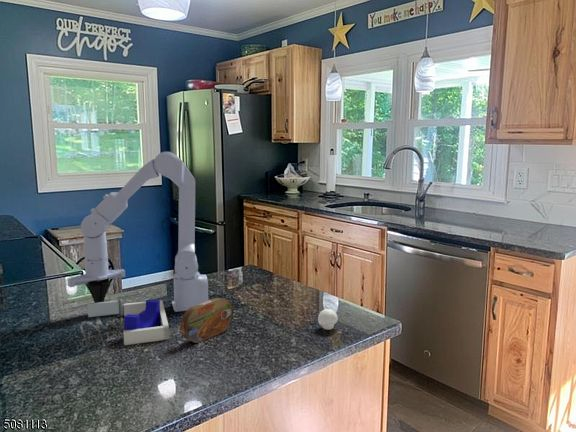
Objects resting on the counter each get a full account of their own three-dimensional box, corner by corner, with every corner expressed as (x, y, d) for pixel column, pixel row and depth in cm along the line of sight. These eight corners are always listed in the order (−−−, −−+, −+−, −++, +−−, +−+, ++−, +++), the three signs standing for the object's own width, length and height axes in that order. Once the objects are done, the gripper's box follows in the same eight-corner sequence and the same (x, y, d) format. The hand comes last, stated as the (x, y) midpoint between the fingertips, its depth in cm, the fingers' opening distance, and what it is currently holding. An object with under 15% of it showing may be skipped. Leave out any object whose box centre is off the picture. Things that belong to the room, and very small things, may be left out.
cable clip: (144, 321, 114) (143, 299, 113) (160, 322, 113) (159, 300, 112) (119, 340, 102) (118, 316, 101) (137, 342, 102) (136, 317, 101)
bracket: (162, 309, 122) (162, 299, 121) (169, 339, 103) (168, 327, 102) (124, 314, 118) (123, 303, 118) (124, 345, 99) (123, 332, 99)
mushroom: (323, 333, 107) (324, 314, 106) (314, 326, 111) (314, 307, 110) (341, 330, 109) (341, 311, 108) (331, 323, 113) (331, 305, 112)
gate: (122, 314, 119) (121, 299, 118) (88, 318, 116) (87, 303, 115) (122, 312, 119) (122, 298, 119) (88, 316, 116) (87, 302, 116)
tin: (187, 348, 98) (187, 312, 97) (178, 344, 100) (177, 309, 99) (234, 327, 110) (234, 295, 109) (225, 324, 112) (225, 292, 111)
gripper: (72, 265, 109) (76, 317, 111) (129, 256, 119) (131, 304, 121) (63, 260, 114) (67, 310, 116) (118, 252, 124) (120, 298, 126)
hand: (99, 306), depth 119 cm, fingers closed
